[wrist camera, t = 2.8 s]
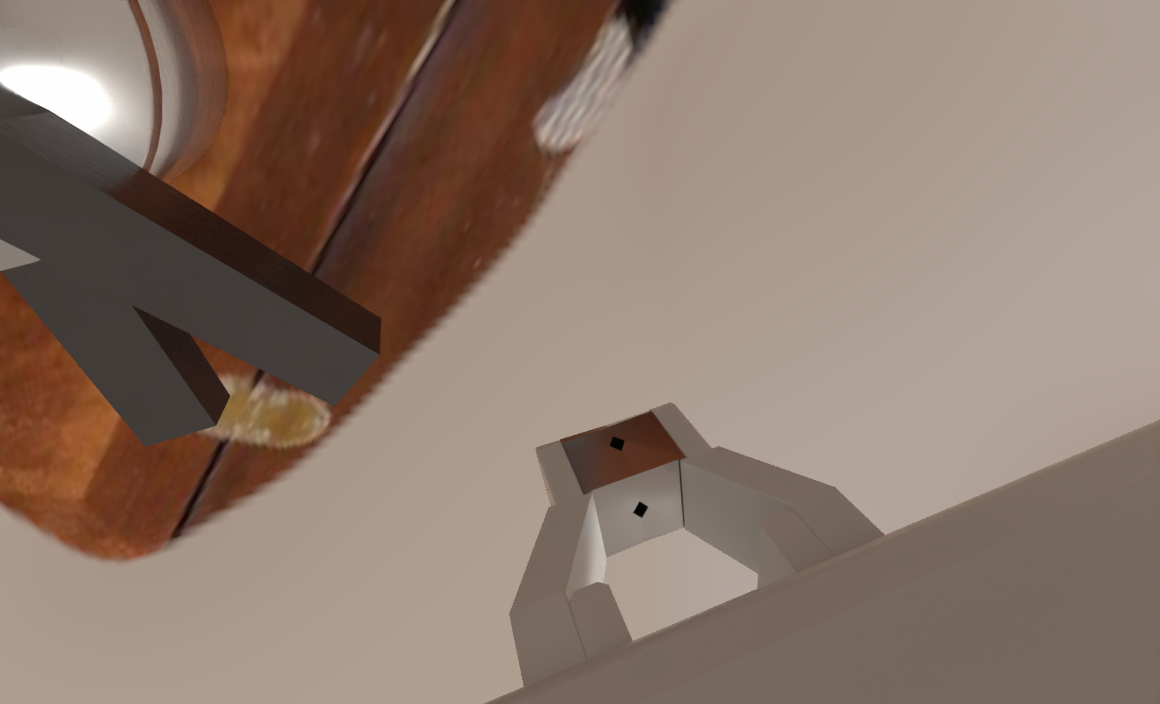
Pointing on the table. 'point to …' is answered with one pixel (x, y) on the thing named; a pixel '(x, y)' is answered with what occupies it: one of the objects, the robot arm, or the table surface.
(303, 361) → the lid
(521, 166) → the table surface
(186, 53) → the pot
